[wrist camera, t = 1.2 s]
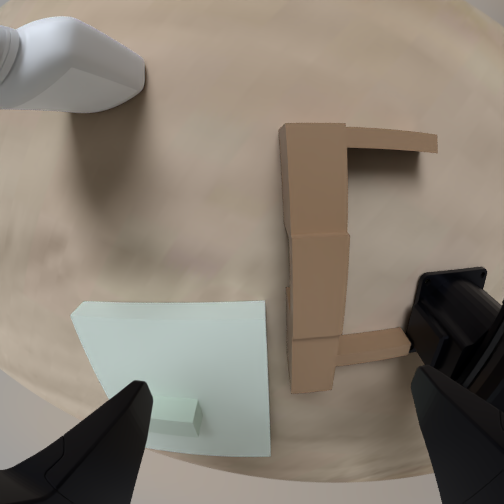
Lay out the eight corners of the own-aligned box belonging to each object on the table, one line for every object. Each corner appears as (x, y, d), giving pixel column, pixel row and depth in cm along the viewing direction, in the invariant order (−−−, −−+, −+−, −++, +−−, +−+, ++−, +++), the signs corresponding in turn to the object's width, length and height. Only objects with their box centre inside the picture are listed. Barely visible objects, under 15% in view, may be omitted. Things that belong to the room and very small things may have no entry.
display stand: (264, 300, 17) (265, 343, 13) (270, 439, 23) (270, 475, 19) (83, 301, 18) (53, 333, 14) (143, 431, 24) (132, 462, 20)
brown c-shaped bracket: (419, 134, 13) (464, 135, 9) (397, 338, 18) (420, 378, 14) (278, 129, 14) (286, 122, 10) (286, 351, 19) (291, 398, 15)
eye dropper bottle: (126, 132, 14) (-65, 144, 3) (61, 107, 13) (-100, 113, 2) (159, 62, 13) (4, -30, 1) (88, 45, 12) (-59, -3, 1)
